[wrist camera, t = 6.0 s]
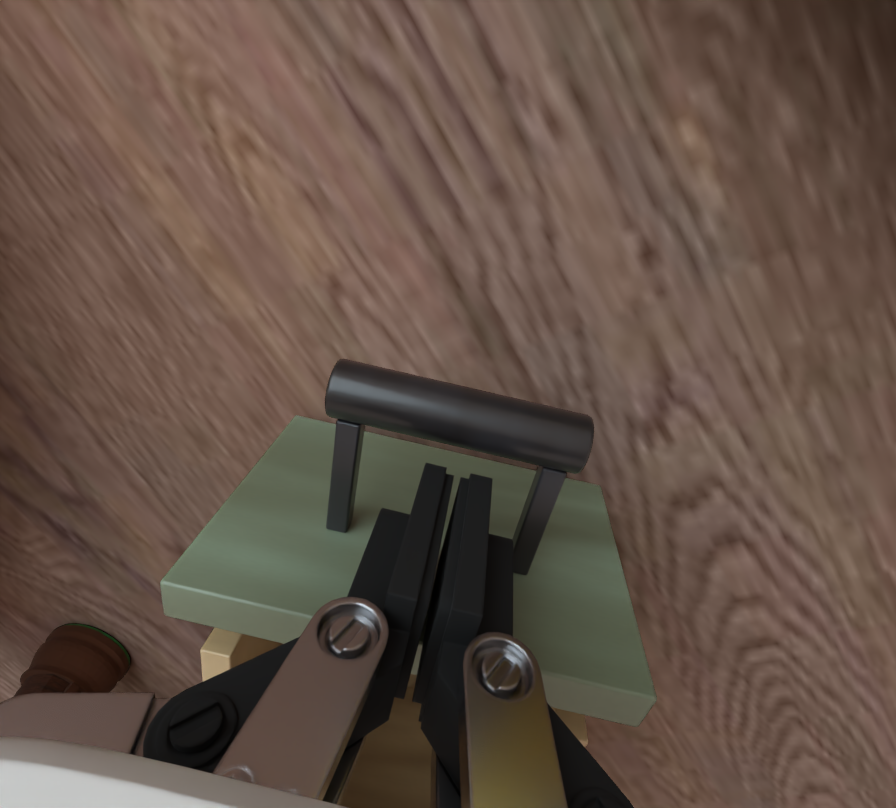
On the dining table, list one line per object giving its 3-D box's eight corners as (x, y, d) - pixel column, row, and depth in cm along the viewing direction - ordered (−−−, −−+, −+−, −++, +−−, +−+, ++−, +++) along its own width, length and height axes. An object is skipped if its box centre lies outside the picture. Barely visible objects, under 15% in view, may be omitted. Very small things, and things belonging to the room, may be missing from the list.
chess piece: (38, 636, 28) (-181, 862, 19) (88, 609, 26) (-128, 843, 17) (101, 682, 29) (-75, 911, 21) (152, 660, 28) (-16, 898, 19)
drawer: (302, 282, 15) (131, 389, 8) (655, 363, 15) (773, 538, 8) (283, 644, 24) (192, 841, 17) (507, 697, 24) (505, 917, 17)
